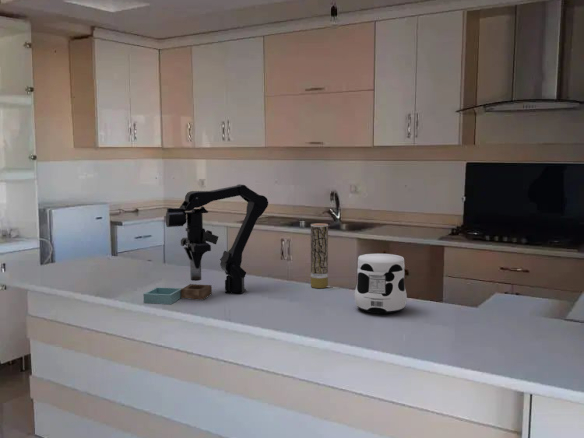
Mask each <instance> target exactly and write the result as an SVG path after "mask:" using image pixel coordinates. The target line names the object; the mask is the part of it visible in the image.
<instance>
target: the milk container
mask: <svg viewBox="0 0 584 438" xmlns="http://www.w3.org/2000/svg"><path fill="white" fill-rule="evenodd" d="M405 267H406V266H405V258H404V256H401V255H397V254H394V253H393V254H392V253H365V254H360V255H359V256H358V258H357V270H356V271H357V283H356V286H355V289H354V301H355V302H354V303H355V305H356V307H357V308H358V309H360V310H361V311H365V312H367V313H373V314H393V313H397V312H400V311H402V310H403V309H404V308H405V307H406V306H407V305H406V303H407V296H408V295H407V290H406V286H405Z"/></svg>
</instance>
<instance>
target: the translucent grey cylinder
mask: <svg viewBox="0 0 584 438" xmlns="http://www.w3.org/2000/svg"><path fill="white" fill-rule="evenodd" d="M189 265H190V266H189V269H190V270H189V271H190V276H189V277H190V278H189V279H190V281H193V282H194V281H195V282H197V281H201V280H202V262H201V263H200V267H199V268H198V269H196V267H195V265H194V262H193V259H190V260H189Z"/></svg>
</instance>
